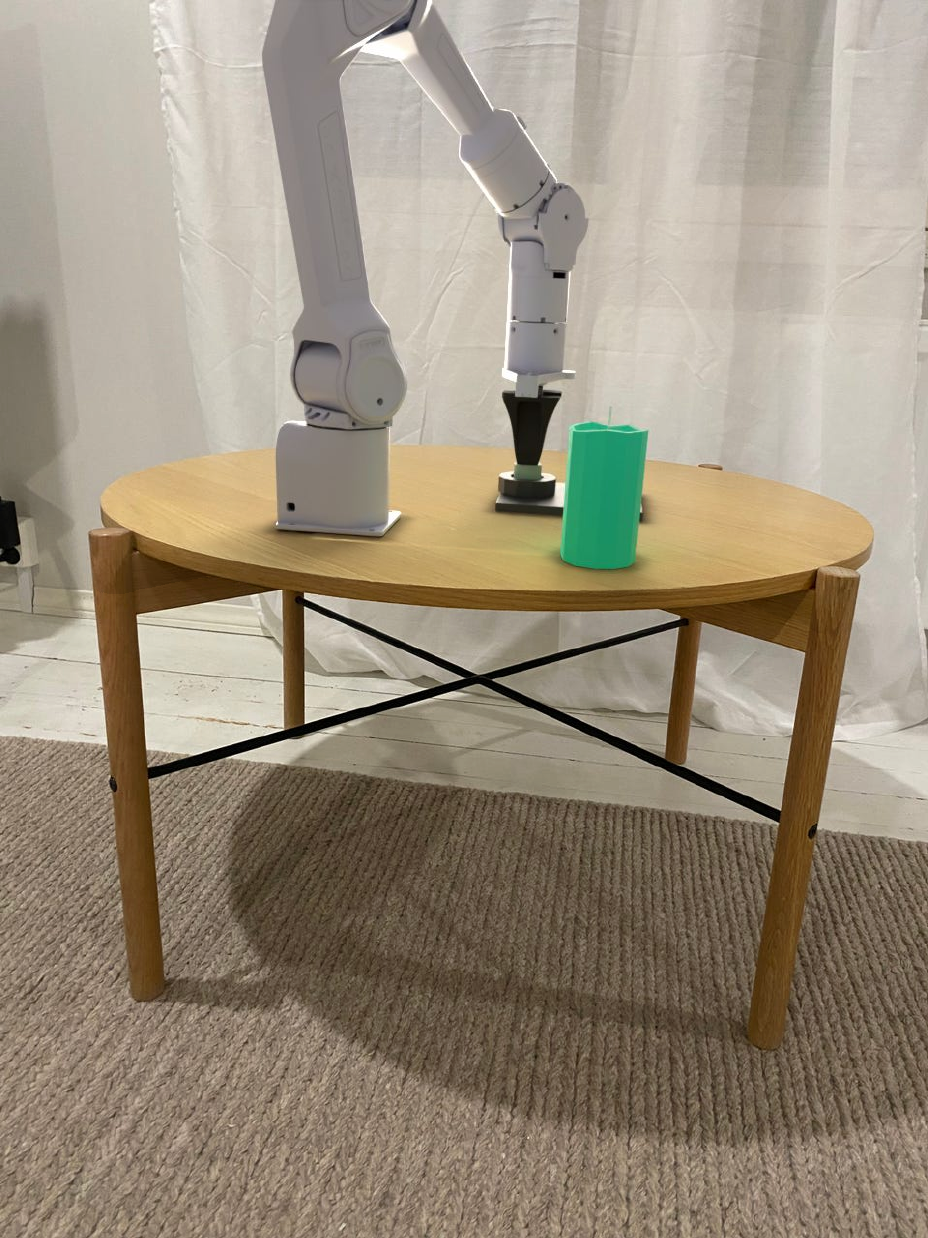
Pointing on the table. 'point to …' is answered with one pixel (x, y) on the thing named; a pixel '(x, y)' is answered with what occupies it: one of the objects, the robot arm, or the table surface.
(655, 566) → the table surface
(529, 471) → the button
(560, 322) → the robot arm
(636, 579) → the table surface
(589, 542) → the candle
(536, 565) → the table surface
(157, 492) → the table surface
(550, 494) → the scale
